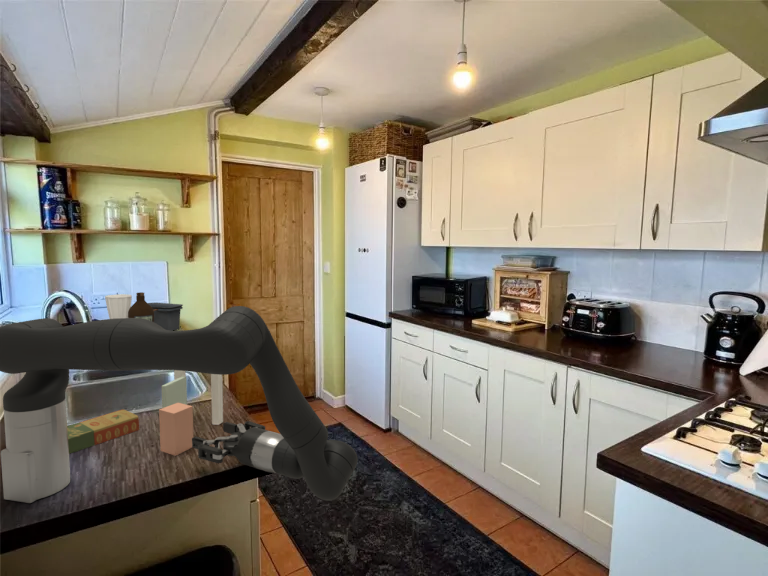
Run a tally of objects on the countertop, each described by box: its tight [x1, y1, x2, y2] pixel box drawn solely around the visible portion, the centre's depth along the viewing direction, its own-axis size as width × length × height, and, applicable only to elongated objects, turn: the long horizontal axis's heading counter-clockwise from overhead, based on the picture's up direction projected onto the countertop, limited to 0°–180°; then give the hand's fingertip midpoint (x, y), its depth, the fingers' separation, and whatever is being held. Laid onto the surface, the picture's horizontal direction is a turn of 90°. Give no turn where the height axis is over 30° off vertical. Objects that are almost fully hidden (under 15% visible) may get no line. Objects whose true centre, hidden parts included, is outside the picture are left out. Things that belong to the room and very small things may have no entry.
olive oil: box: [128, 292, 154, 322], centre depth 196 cm, size 11×11×25 cm
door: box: [161, 376, 188, 409], centre depth 110 cm, size 1×8×12 cm, turn 169°
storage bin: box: [147, 302, 184, 331], centre depth 232 cm, size 21×16×14 cm
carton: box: [67, 409, 140, 455], centre depth 104 cm, size 8×16×4 cm, turn 146°
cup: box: [104, 293, 133, 319], centre depth 211 cm, size 12×12×22 cm
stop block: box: [158, 403, 194, 457], centre depth 99 cm, size 5×5×10 cm
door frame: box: [173, 370, 224, 426], centre depth 114 cm, size 2×13×20 cm, turn 79°
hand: (209, 433), depth 94 cm, fingers open, 8 cm apart
